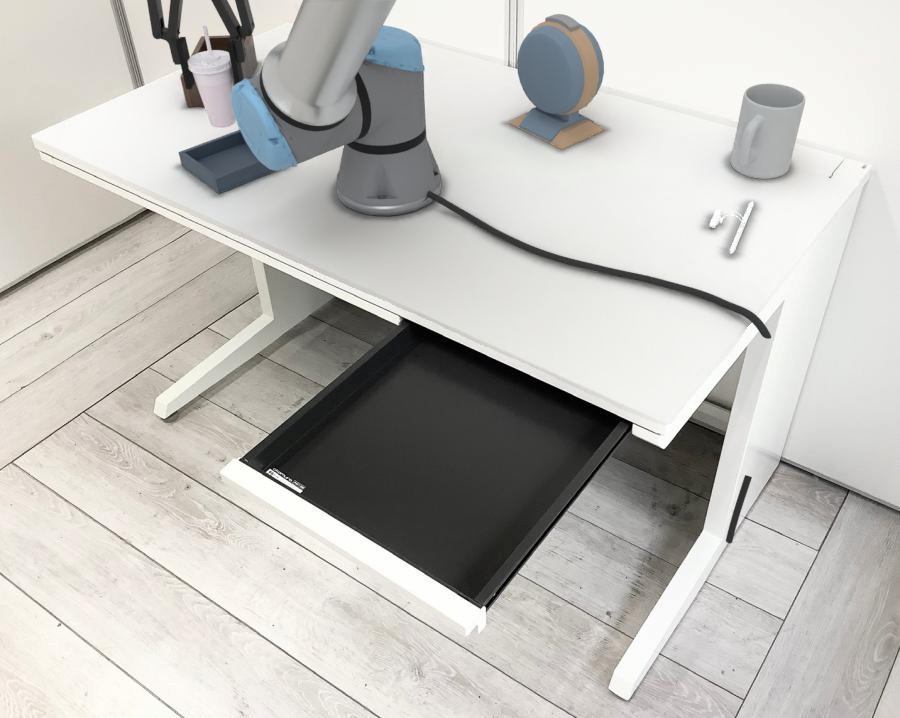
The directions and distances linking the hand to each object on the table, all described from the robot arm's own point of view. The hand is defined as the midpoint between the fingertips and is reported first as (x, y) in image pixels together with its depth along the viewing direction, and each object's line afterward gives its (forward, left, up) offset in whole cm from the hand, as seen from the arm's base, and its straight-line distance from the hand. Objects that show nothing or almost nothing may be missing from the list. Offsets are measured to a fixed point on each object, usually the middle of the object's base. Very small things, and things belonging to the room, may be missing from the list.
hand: (215, 84), depth 128 cm
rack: (+28, -15, -13) cm, 34 cm away
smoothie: (0, 0, -6) cm, 6 cm away
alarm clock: (-25, -46, -14) cm, 54 cm away
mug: (-55, -57, -14) cm, 80 cm away
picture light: (-62, -41, -14) cm, 75 cm away
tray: (0, 0, -13) cm, 13 cm away
